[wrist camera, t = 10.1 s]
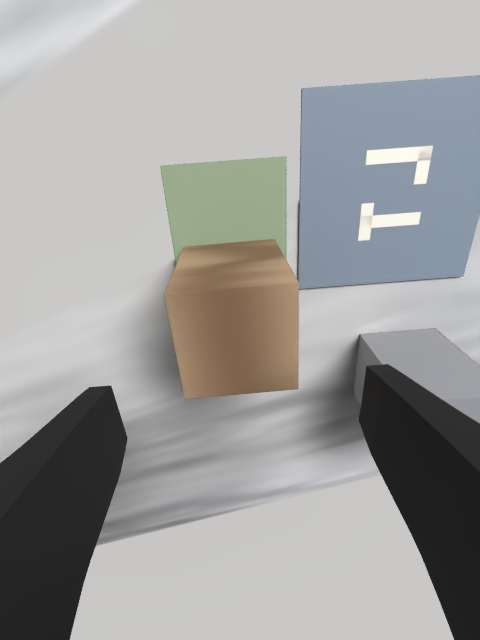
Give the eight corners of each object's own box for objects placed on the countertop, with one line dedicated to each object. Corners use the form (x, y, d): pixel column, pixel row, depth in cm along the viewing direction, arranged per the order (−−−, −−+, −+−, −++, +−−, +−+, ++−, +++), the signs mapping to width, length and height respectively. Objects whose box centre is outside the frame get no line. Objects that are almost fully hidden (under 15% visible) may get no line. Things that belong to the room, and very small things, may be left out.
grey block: (435, 327, 20) (513, 394, 14) (420, 387, 22) (485, 465, 16) (359, 333, 20) (410, 403, 14) (352, 393, 22) (394, 472, 16)
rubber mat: (284, 156, 15) (286, 156, 15) (285, 371, 21) (286, 375, 20) (161, 165, 15) (160, 166, 15) (195, 378, 21) (195, 382, 20)
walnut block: (274, 238, 16) (298, 282, 11) (277, 319, 18) (298, 389, 13) (183, 246, 16) (164, 294, 11) (196, 326, 18) (184, 398, 13)
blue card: (514, 73, 14) (516, 72, 14) (462, 275, 18) (463, 276, 18) (301, 88, 14) (302, 88, 14) (297, 288, 18) (298, 288, 18)
